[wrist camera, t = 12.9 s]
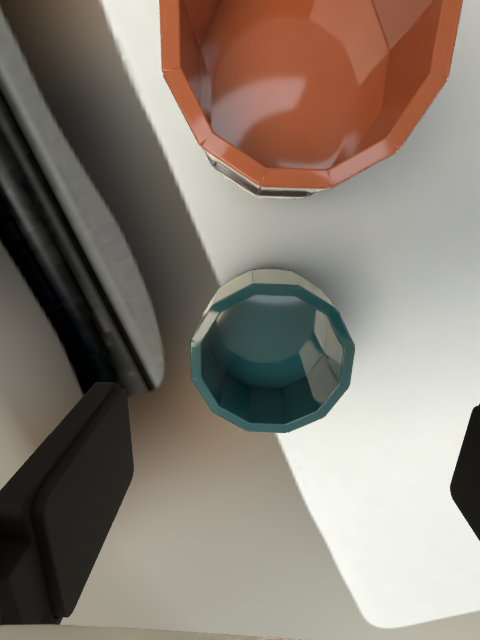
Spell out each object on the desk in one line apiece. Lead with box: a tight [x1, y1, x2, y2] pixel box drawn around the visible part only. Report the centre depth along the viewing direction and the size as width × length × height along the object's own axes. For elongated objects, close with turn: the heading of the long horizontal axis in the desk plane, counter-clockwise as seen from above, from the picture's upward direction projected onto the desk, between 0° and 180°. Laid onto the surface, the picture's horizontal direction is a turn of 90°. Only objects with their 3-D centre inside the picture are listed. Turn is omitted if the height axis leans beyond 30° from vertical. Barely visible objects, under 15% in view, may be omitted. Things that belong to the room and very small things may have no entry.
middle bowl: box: [159, 0, 463, 193], centre depth 11 cm, size 7×7×5 cm
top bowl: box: [190, 269, 355, 433], centre depth 18 cm, size 7×7×5 cm
